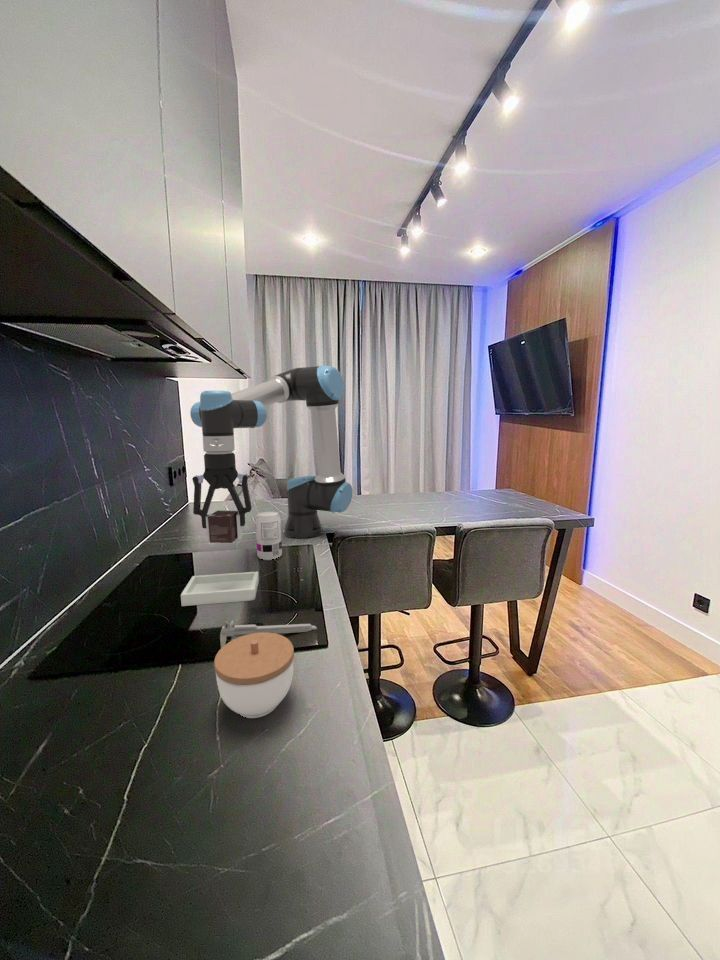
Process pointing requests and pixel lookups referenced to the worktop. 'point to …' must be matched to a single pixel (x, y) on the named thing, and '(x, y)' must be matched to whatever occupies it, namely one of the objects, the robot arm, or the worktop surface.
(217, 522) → the box
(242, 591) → the tray
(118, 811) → the worktop surface
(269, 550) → the supplement can
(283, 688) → the lidded bowl
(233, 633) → the caliper
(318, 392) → the robot arm
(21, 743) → the worktop surface
